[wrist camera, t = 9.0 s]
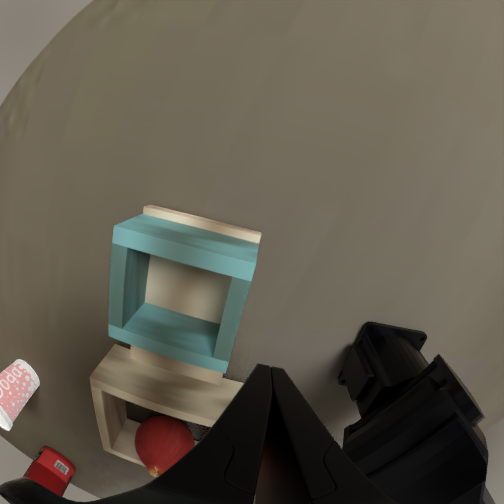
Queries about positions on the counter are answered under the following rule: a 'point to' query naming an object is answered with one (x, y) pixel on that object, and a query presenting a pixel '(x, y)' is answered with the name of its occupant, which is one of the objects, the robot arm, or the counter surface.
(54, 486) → the canned food
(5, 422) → the beverage cup
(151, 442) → the onion
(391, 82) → the counter surface
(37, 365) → the counter surface
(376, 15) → the counter surface
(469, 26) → the counter surface
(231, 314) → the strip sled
